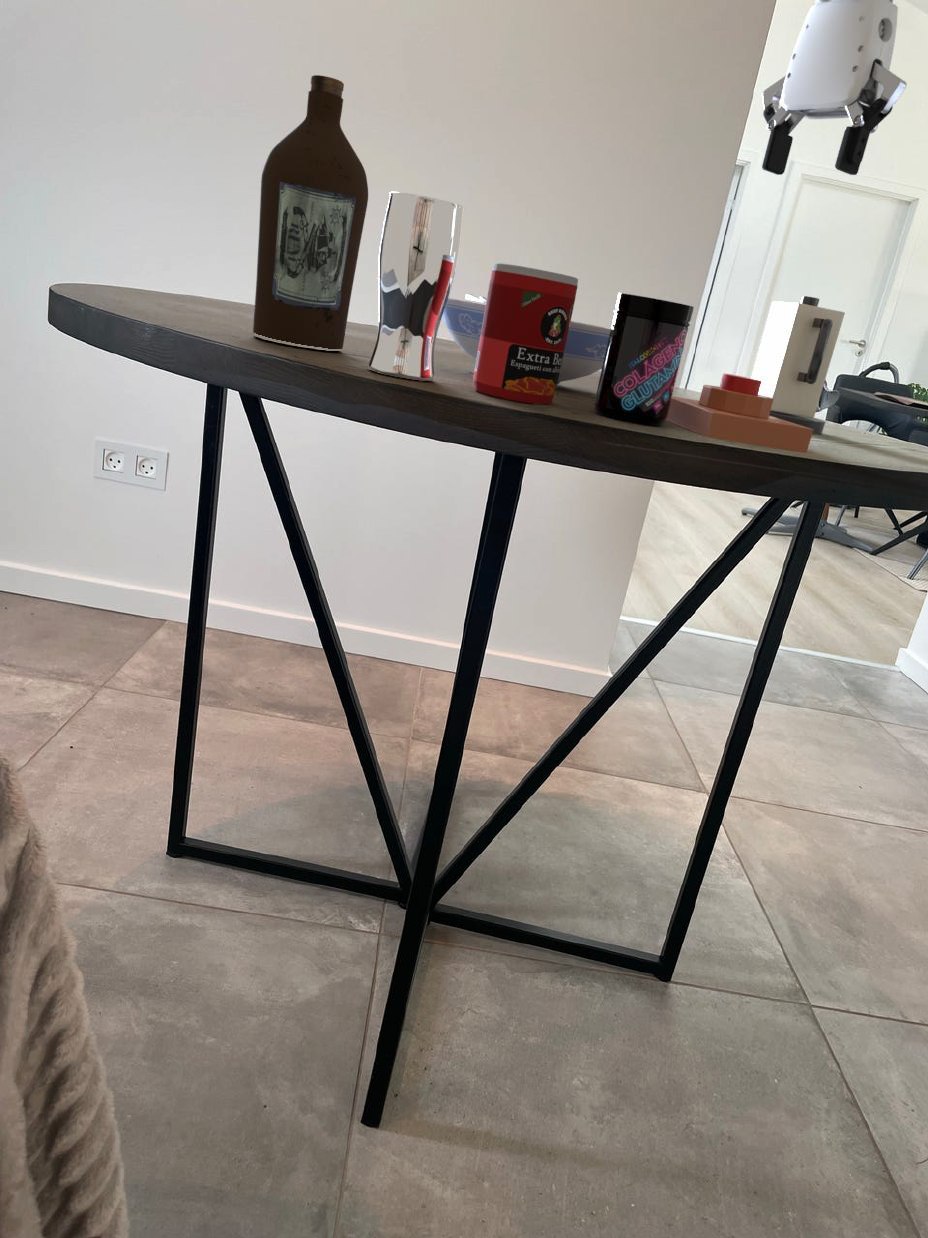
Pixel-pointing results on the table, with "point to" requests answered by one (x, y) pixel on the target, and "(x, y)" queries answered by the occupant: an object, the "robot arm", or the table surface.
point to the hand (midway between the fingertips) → (807, 171)
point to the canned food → (524, 333)
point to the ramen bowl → (580, 347)
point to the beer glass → (414, 282)
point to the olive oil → (310, 227)
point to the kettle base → (801, 421)
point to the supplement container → (642, 359)
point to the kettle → (796, 354)
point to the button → (740, 384)
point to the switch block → (738, 419)
